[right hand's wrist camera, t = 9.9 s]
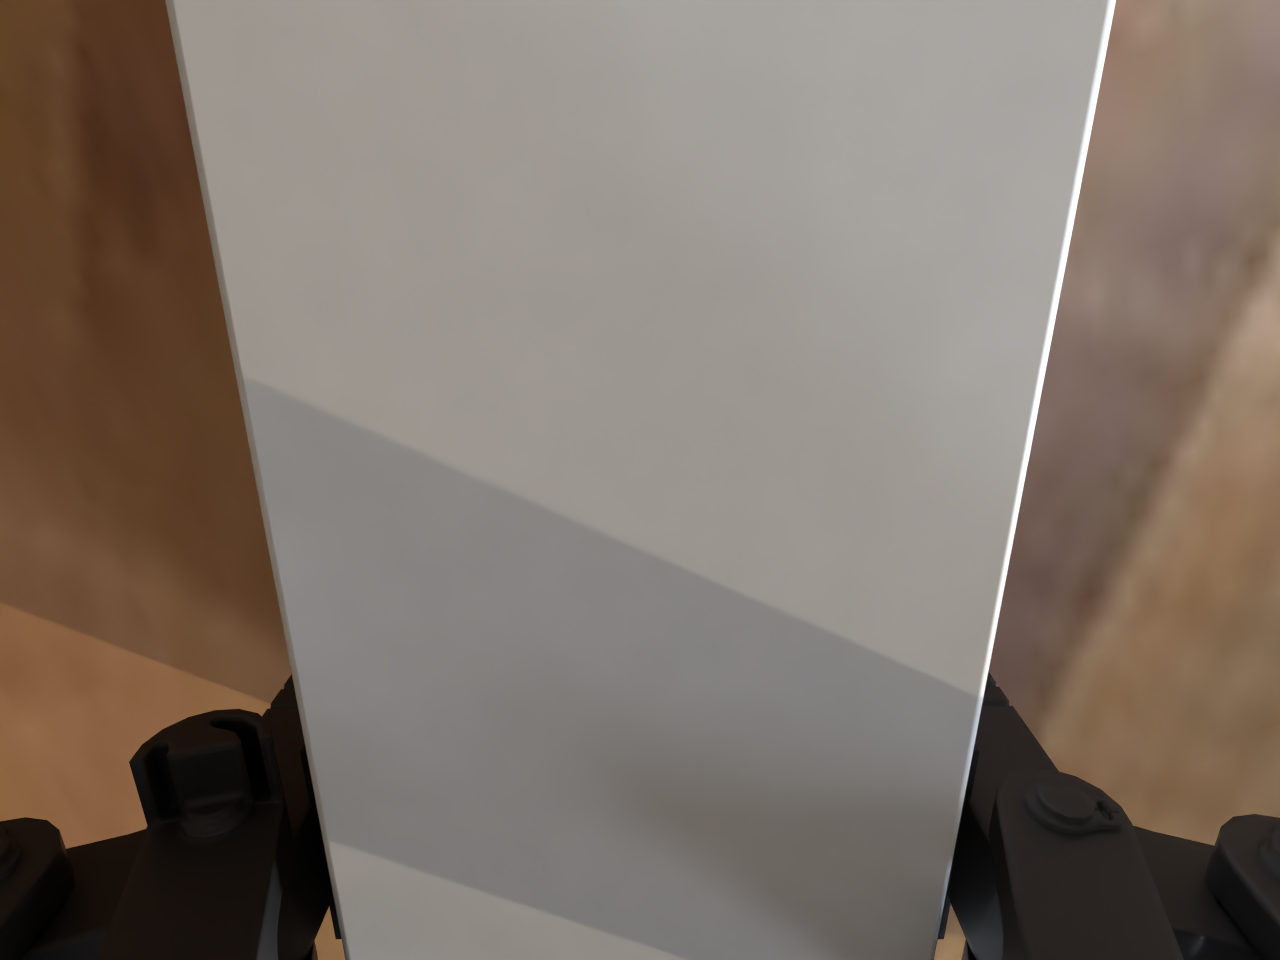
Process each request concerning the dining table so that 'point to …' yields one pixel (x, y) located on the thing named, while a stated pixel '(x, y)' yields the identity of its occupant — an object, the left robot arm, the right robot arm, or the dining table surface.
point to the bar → (640, 442)
